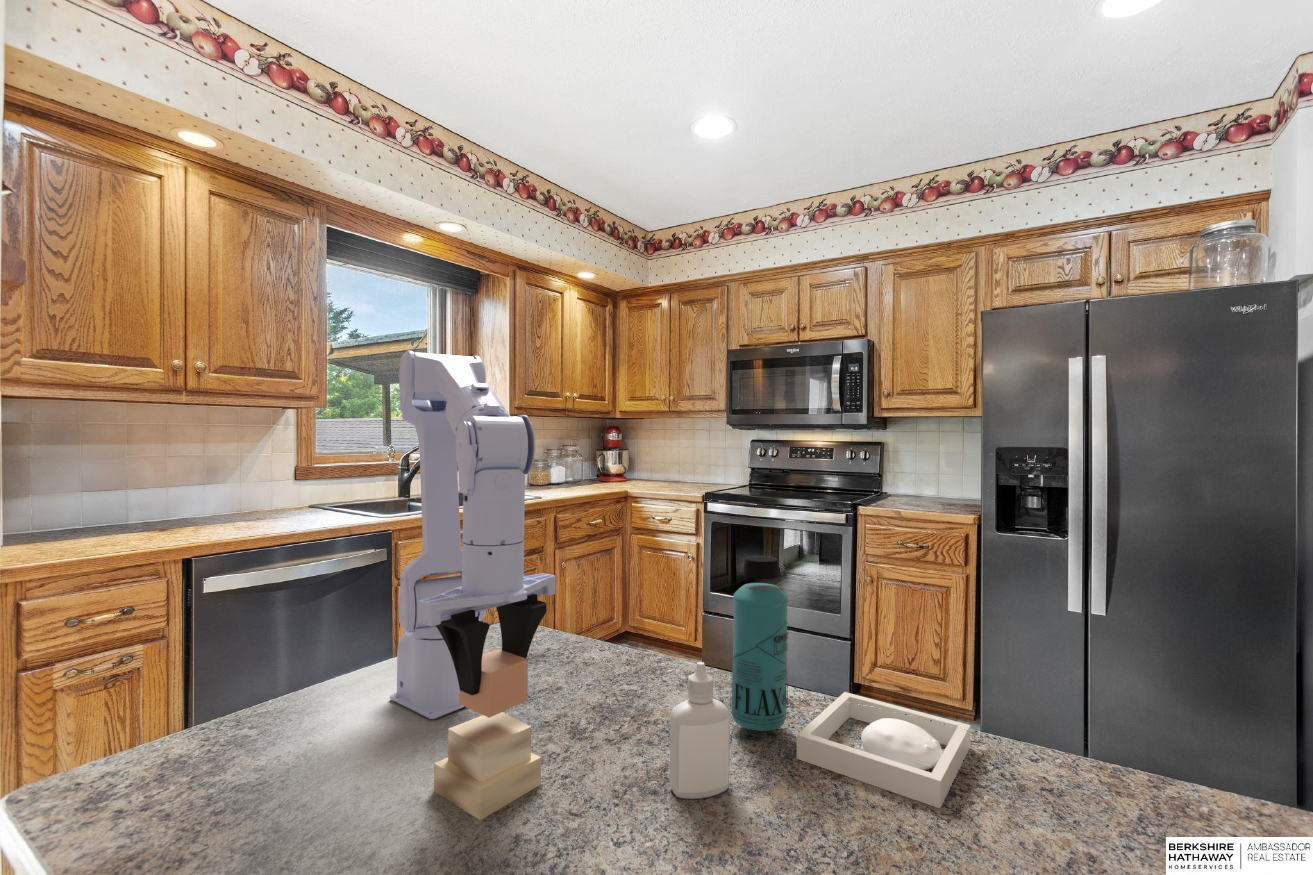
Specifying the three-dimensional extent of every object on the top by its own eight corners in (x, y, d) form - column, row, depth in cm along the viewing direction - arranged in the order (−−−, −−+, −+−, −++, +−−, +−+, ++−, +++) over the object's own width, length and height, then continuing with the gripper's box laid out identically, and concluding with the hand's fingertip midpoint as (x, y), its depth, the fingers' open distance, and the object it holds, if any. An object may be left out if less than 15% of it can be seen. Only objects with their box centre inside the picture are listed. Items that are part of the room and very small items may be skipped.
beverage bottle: (723, 738, 68) (725, 559, 68) (738, 713, 75) (740, 549, 75) (781, 750, 66) (784, 564, 66) (792, 723, 72) (794, 554, 72)
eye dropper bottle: (726, 806, 56) (728, 674, 56) (666, 797, 57) (667, 668, 57) (730, 779, 60) (732, 657, 60) (674, 772, 61) (675, 653, 61)
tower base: (433, 795, 58) (434, 763, 58) (494, 764, 63) (494, 734, 63) (479, 824, 53) (480, 789, 53) (540, 788, 59) (540, 757, 59)
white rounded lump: (955, 767, 63) (956, 730, 63) (924, 791, 59) (925, 751, 59) (883, 737, 69) (884, 704, 70) (850, 757, 65) (851, 721, 65)
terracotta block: (459, 704, 58) (459, 662, 58) (497, 688, 62) (497, 648, 62) (489, 717, 55) (489, 673, 55) (527, 700, 59) (527, 659, 59)
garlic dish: (796, 758, 64) (796, 734, 64) (844, 712, 75) (844, 691, 75) (940, 808, 56) (940, 781, 56) (970, 747, 67) (970, 725, 67)
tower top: (448, 760, 58) (448, 728, 58) (497, 738, 62) (497, 709, 62) (480, 782, 55) (481, 748, 55) (530, 757, 59) (531, 726, 59)
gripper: (452, 557, 50) (450, 722, 50) (577, 536, 62) (575, 670, 62) (405, 547, 55) (403, 699, 55) (530, 529, 66) (528, 655, 66)
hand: (491, 683), depth 59 cm, fingers closed on terracotta block, 4 cm apart
